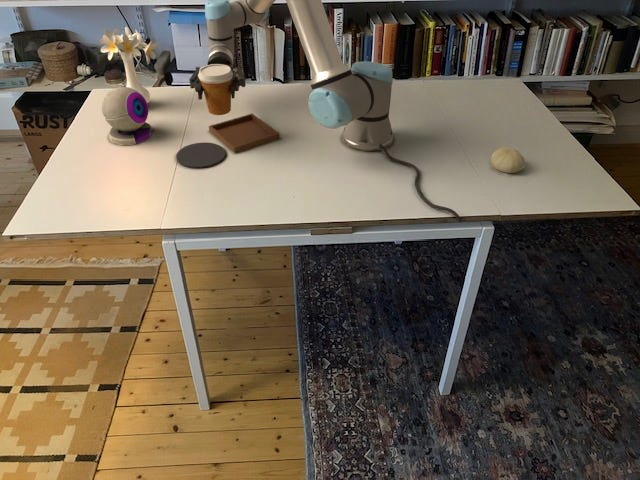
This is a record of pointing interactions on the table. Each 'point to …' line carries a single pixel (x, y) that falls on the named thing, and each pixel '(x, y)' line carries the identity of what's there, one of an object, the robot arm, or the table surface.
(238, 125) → the tray
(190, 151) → the coaster
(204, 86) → the disposable coffee cup
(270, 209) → the table surface
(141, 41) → the flower vase
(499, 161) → the sea urchin shell
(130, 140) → the webcam
